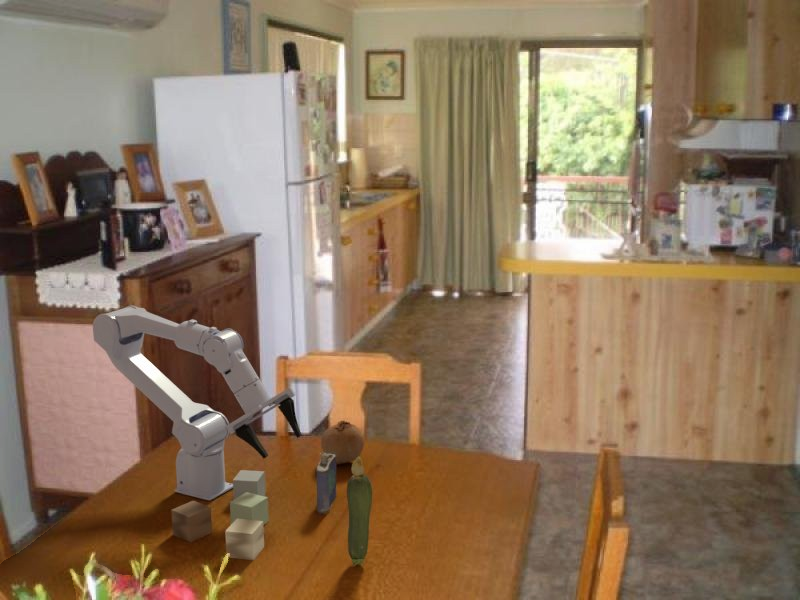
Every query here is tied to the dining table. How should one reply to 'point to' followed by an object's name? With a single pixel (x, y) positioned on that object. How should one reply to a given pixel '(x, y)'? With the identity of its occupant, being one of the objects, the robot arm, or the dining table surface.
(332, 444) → the onion
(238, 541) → the cream cube
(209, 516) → the walnut cube
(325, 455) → the flask
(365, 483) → the vegetable
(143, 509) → the dining table surface
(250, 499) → the green cube
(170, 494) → the dining table surface
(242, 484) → the grey cube
